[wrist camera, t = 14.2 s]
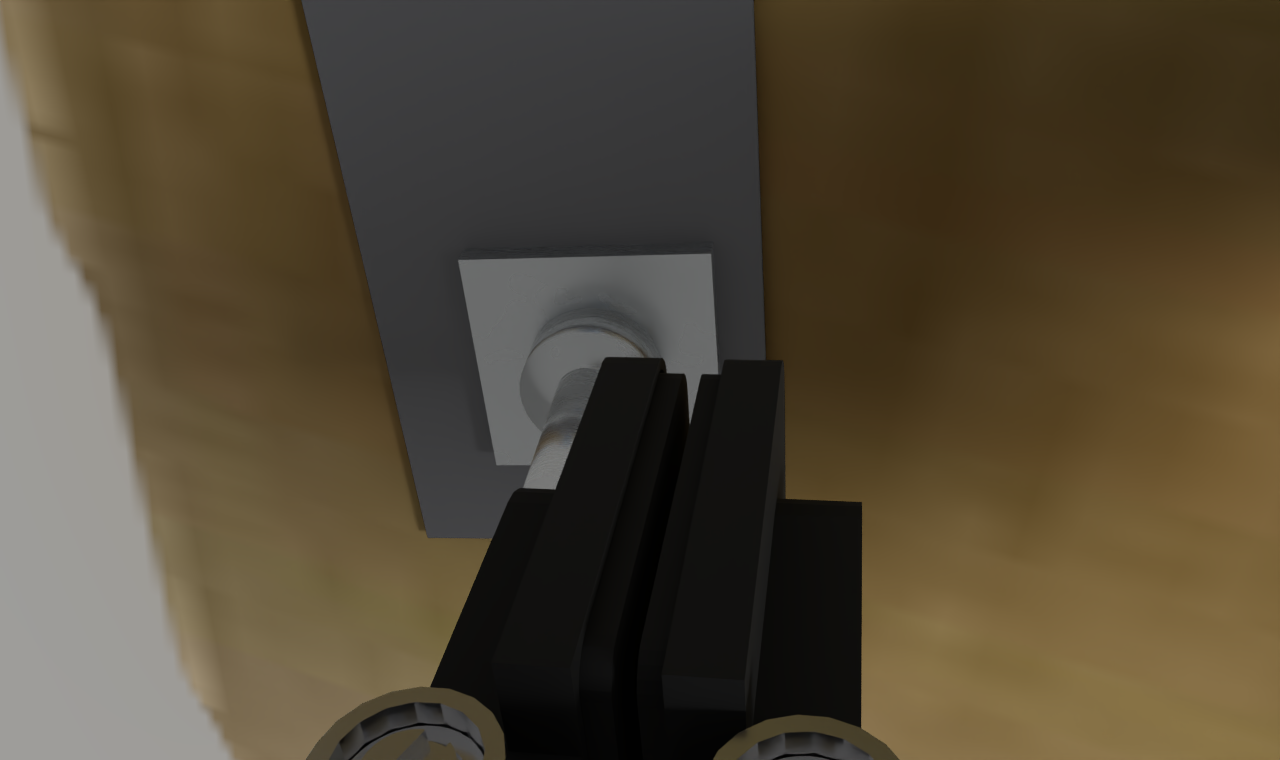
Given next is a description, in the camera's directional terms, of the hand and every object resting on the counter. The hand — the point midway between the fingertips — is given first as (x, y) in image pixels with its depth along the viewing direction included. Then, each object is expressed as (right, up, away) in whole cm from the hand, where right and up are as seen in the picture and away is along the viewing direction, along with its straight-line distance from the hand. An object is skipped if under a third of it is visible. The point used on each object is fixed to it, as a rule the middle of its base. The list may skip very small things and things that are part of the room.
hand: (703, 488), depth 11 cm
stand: (-2, +2, +28) cm, 28 cm away
